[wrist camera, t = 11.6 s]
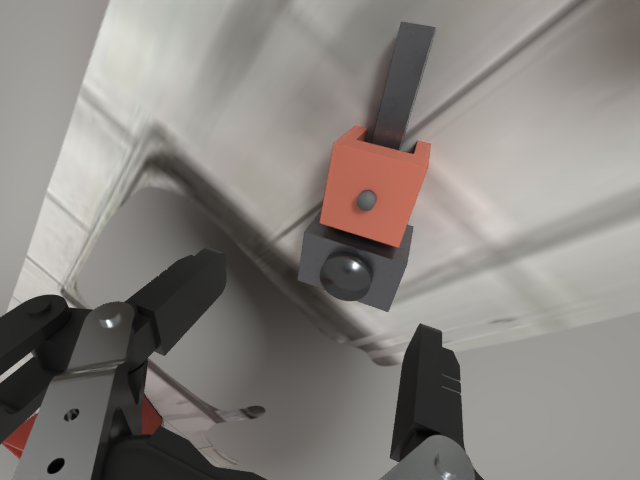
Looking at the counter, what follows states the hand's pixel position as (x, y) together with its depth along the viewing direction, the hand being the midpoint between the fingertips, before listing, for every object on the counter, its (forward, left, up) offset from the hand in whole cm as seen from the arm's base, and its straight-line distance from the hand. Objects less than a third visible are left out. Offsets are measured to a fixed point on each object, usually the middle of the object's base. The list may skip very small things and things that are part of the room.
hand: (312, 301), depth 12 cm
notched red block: (0, 0, -17) cm, 17 cm away
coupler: (0, 0, -17) cm, 17 cm away
